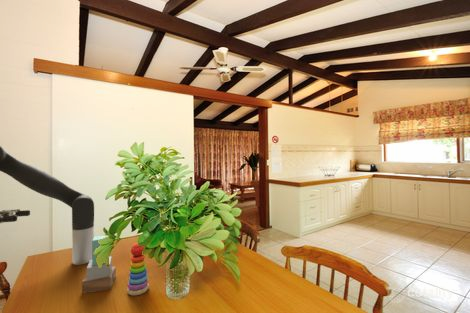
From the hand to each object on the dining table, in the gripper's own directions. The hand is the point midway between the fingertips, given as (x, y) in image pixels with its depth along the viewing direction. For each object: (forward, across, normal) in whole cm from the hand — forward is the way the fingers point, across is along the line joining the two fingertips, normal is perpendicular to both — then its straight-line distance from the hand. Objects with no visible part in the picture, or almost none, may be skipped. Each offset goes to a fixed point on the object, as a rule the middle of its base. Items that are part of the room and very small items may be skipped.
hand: (23, 215), depth 91 cm
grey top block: (+28, -5, +25) cm, 38 cm away
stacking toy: (+44, -14, +30) cm, 55 cm away
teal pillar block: (+28, -5, +20) cm, 35 cm away
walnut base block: (+28, -5, +30) cm, 42 cm away
